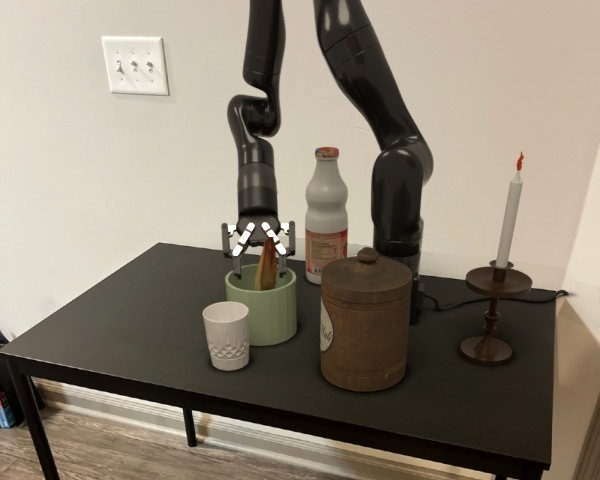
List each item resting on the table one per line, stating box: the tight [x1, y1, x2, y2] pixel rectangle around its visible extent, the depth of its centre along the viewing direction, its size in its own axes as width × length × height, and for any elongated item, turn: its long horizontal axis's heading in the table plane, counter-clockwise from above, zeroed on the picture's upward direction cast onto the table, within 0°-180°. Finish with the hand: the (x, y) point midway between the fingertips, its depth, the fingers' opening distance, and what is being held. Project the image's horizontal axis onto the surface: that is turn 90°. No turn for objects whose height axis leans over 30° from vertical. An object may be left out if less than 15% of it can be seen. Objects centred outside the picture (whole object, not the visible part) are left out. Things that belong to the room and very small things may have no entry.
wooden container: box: [319, 246, 412, 393], centre depth 100 cm, size 15×15×22 cm
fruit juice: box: [304, 146, 349, 286], centre depth 131 cm, size 9×9×28 cm
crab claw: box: [254, 236, 278, 291], centre depth 111 cm, size 7×5×20 cm
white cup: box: [202, 301, 250, 372], centre depth 107 cm, size 8×8×10 cm
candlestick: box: [459, 150, 533, 367], centre depth 101 cm, size 11×11×35 cm
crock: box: [224, 263, 298, 347], centre depth 116 cm, size 13×13×11 cm
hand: (260, 277), depth 111 cm, fingers open, 7 cm apart
